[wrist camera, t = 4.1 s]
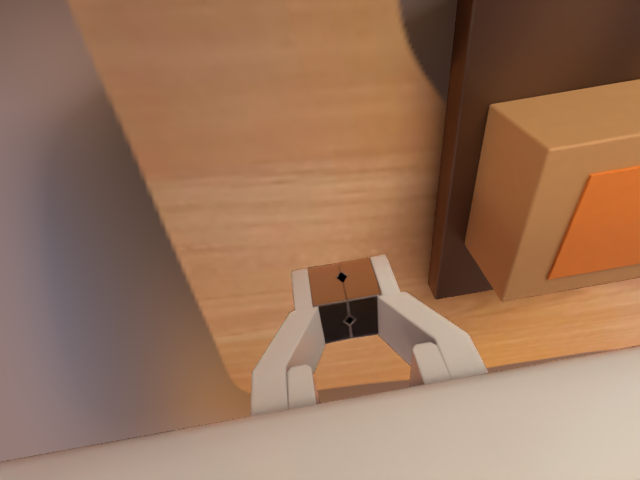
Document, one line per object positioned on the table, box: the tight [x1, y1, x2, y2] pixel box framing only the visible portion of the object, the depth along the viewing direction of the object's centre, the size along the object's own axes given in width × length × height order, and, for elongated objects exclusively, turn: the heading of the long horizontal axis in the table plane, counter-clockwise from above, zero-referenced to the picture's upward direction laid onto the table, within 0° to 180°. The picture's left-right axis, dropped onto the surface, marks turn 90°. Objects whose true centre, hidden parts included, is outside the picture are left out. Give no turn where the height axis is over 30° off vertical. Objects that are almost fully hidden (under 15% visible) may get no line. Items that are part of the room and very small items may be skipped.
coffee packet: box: [465, 79, 640, 302], centre depth 13 cm, size 8×6×4 cm
